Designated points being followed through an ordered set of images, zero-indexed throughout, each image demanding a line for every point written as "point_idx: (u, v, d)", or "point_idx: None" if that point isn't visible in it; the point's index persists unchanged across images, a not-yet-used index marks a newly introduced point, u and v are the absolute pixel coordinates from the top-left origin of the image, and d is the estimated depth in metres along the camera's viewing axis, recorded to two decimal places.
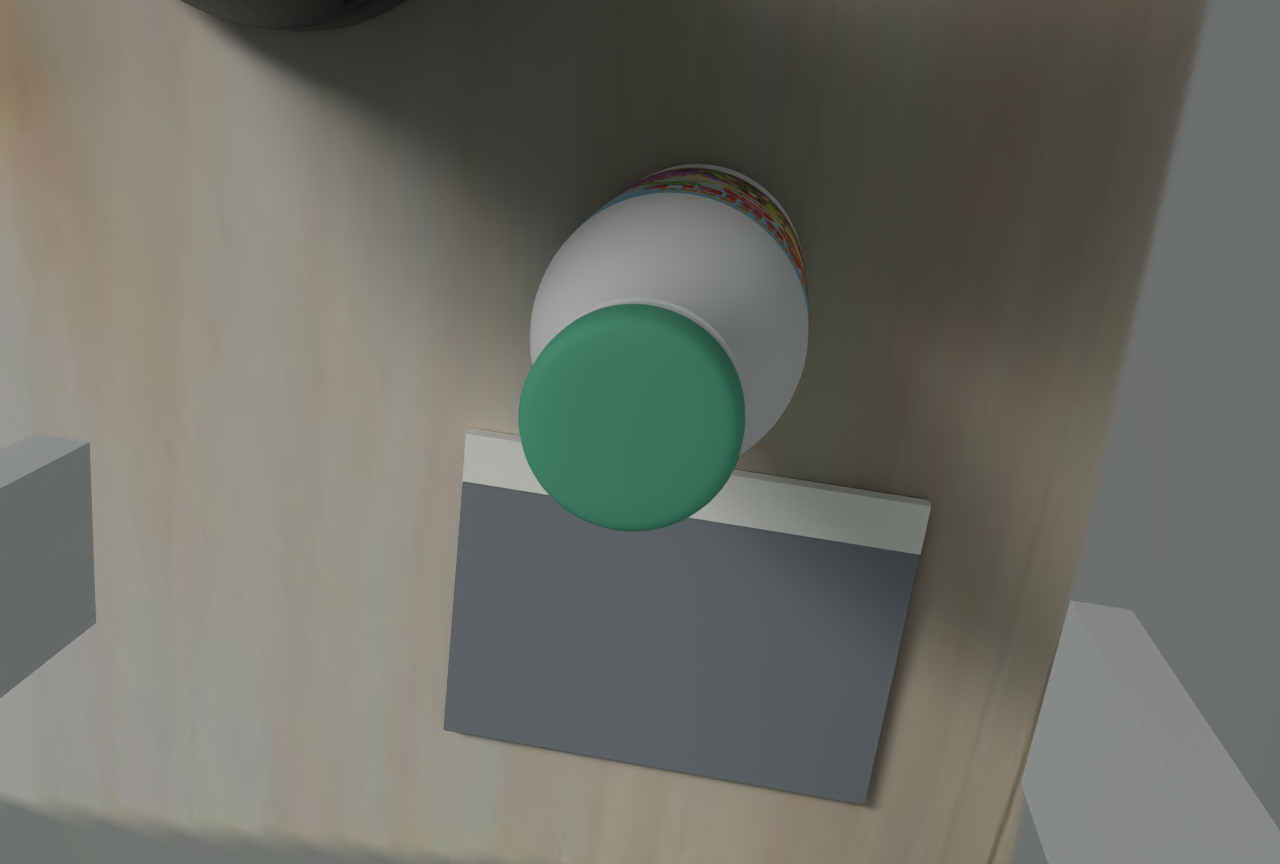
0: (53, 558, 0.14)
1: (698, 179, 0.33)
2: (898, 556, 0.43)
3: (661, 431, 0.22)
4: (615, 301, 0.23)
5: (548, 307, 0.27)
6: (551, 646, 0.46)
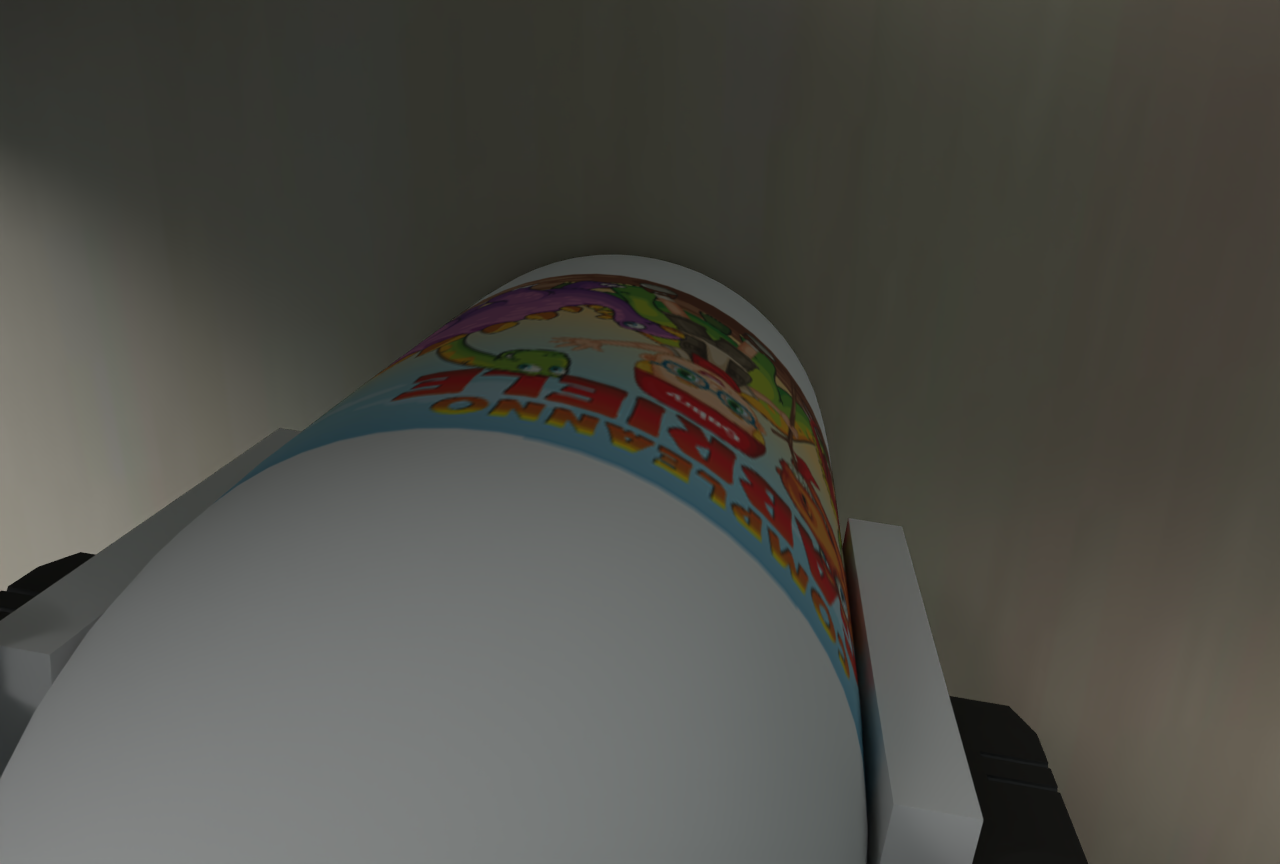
0: None
1: (578, 335, 0.13)
2: None
3: None
4: None
5: None
6: None
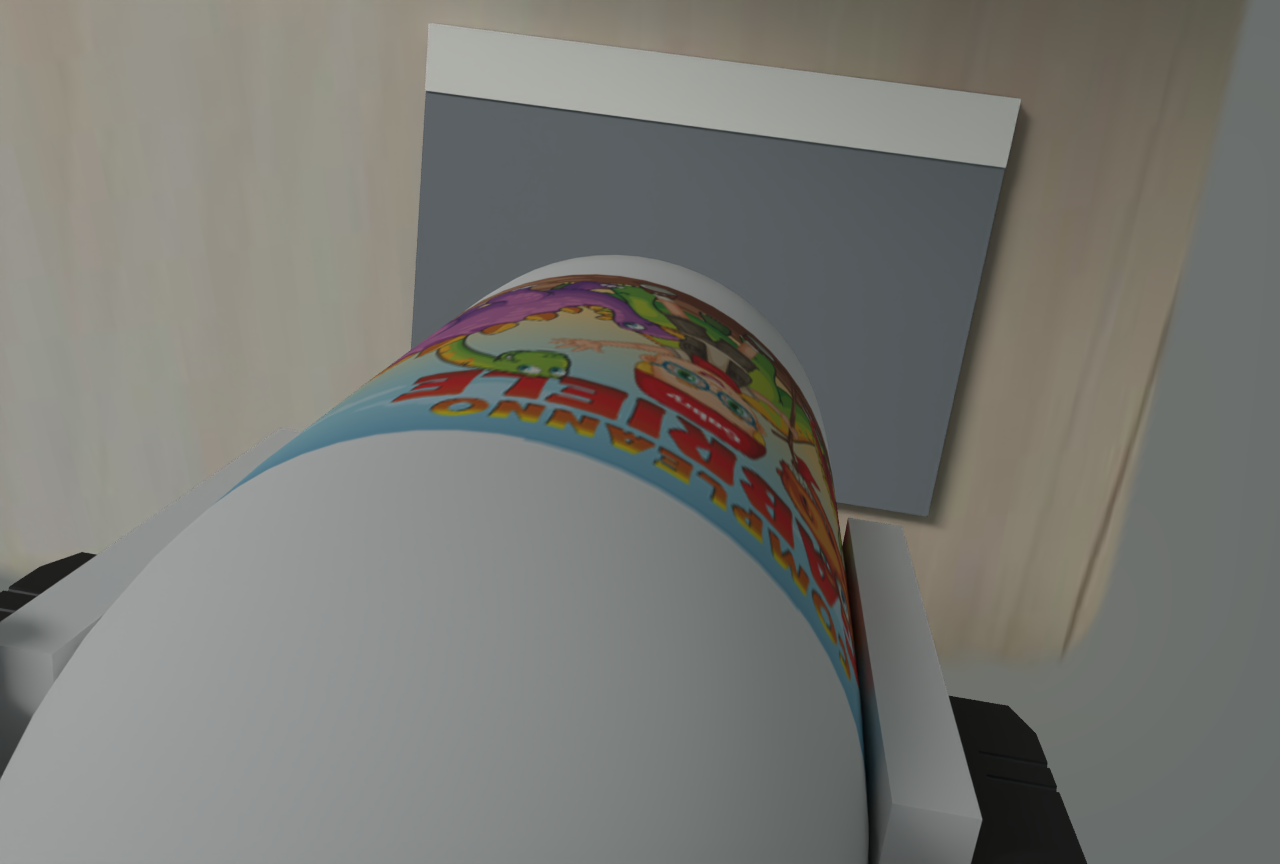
0: None
1: (578, 336, 0.13)
2: (977, 172, 0.34)
3: None
4: None
5: None
6: None
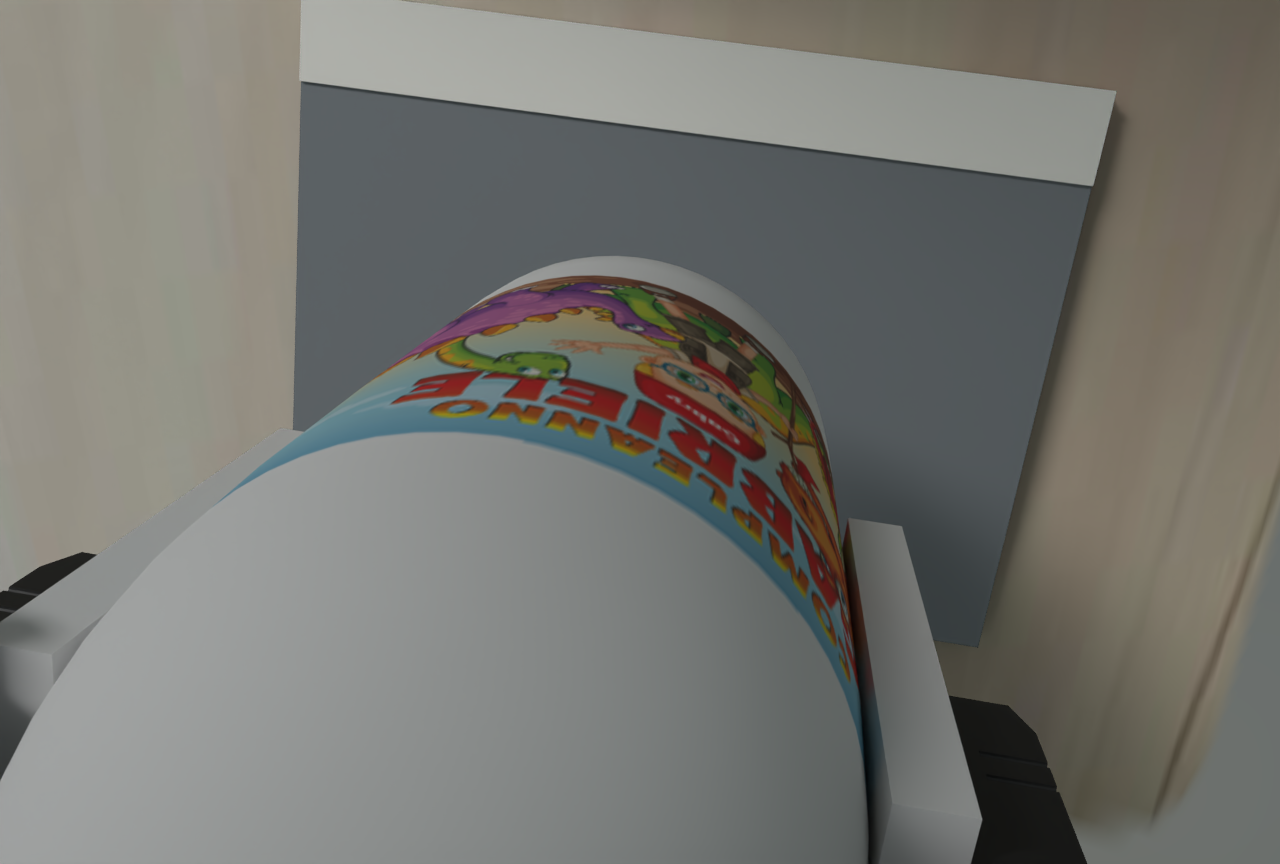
0: None
1: (578, 337, 0.13)
2: (1053, 192, 0.24)
3: None
4: None
5: None
6: None
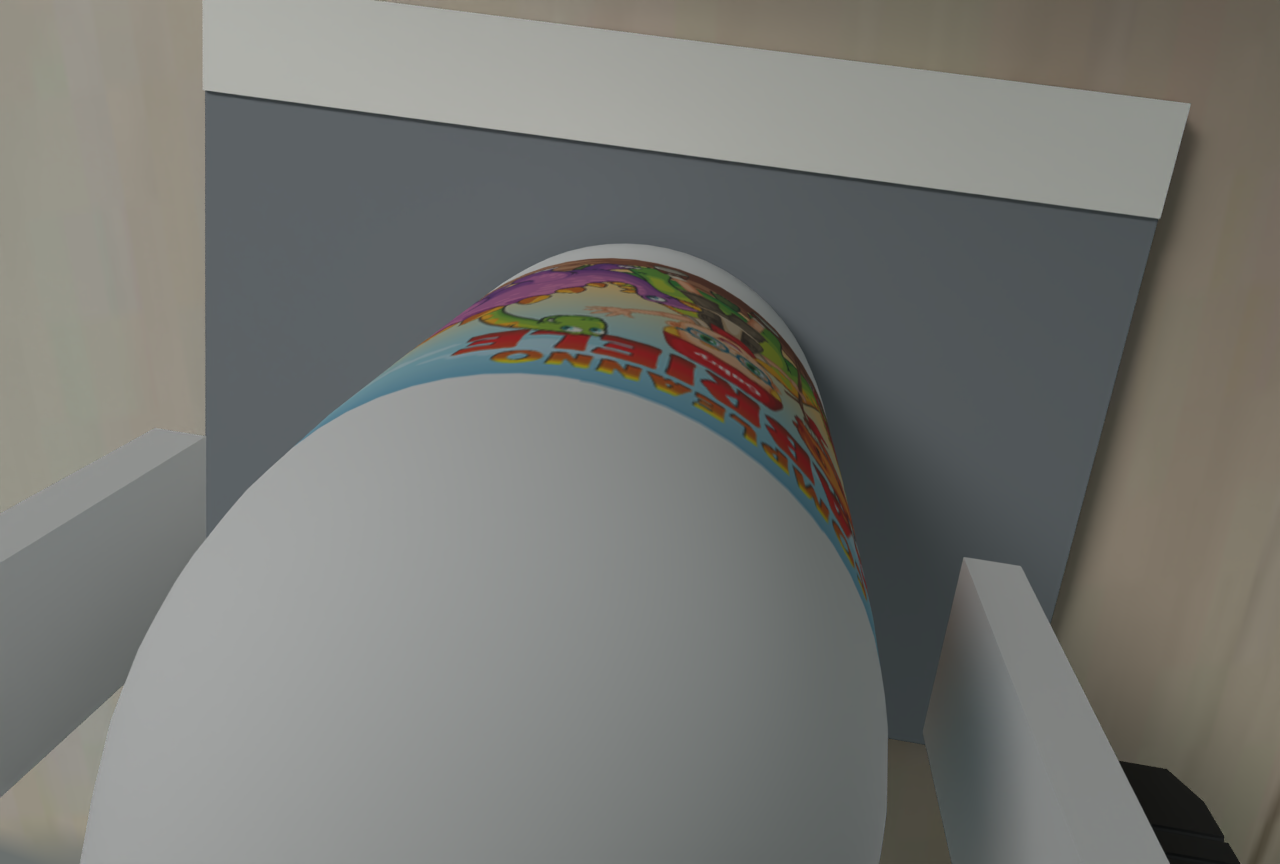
0: (174, 546, 0.15)
1: (608, 305, 0.14)
2: (1111, 225, 0.20)
3: None
4: None
5: (101, 778, 0.09)
6: None
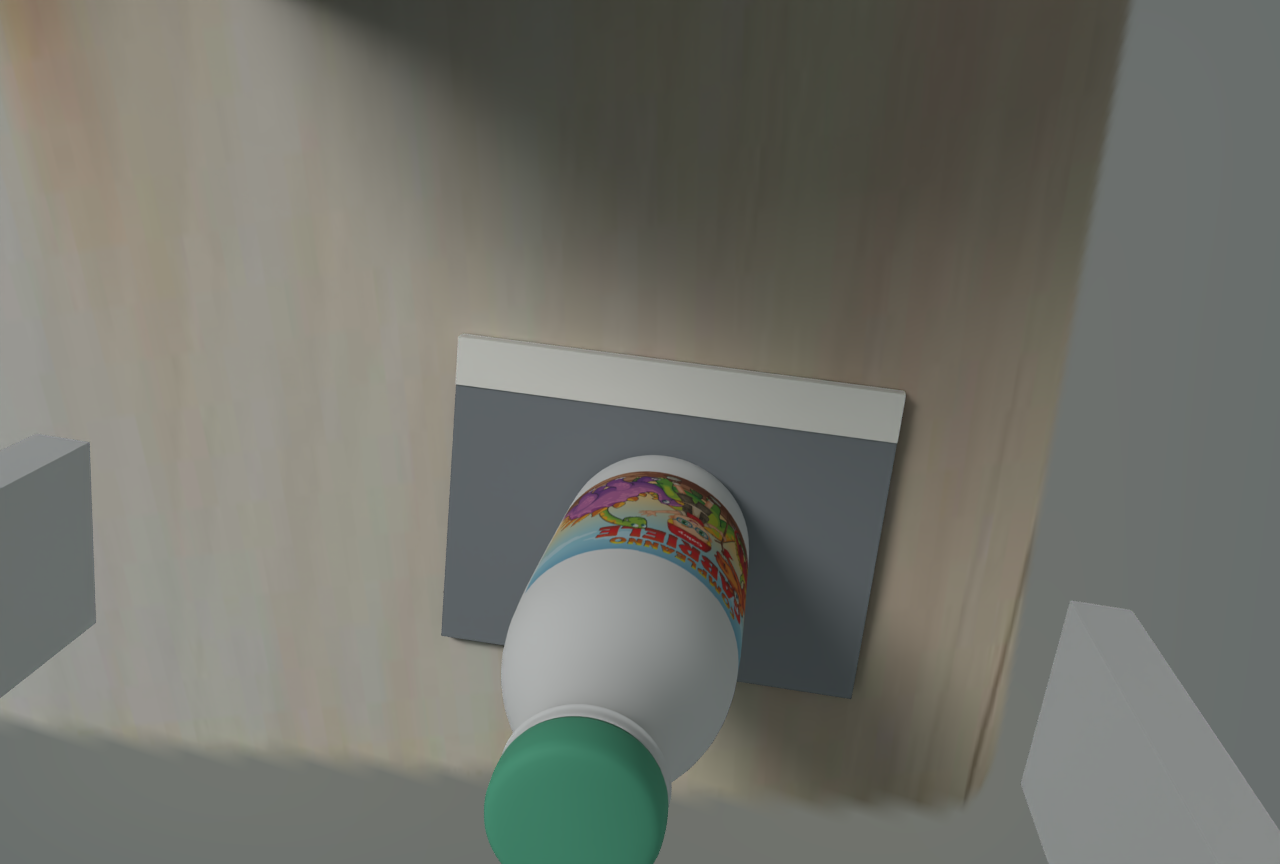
0: (53, 558, 0.14)
1: (647, 509, 0.38)
2: (876, 445, 0.44)
3: (597, 830, 0.27)
4: (562, 707, 0.29)
5: (514, 666, 0.33)
6: (544, 548, 0.47)
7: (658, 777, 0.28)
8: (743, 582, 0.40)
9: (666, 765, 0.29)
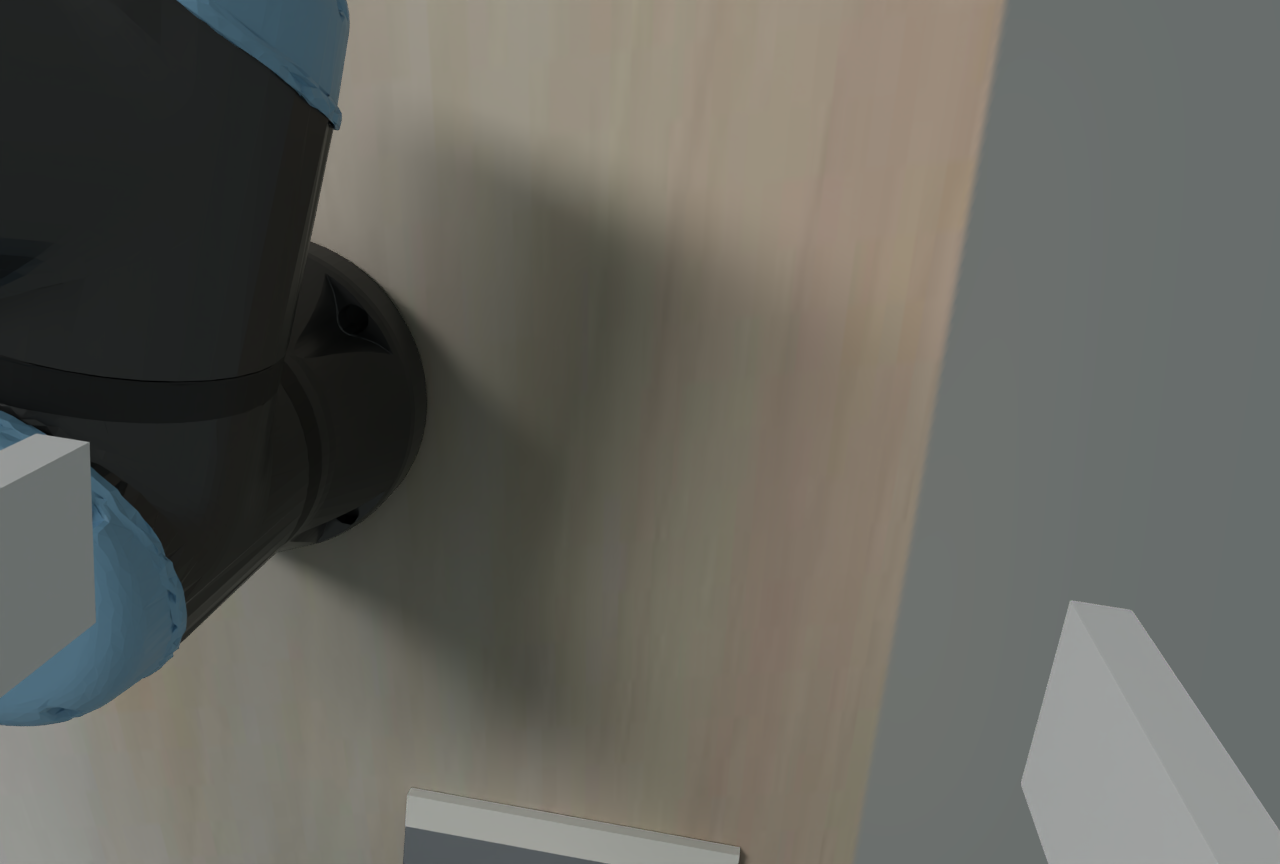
0: (53, 558, 0.14)
1: None
2: None
3: None
4: None
5: None
6: None
7: None
8: None
9: None
